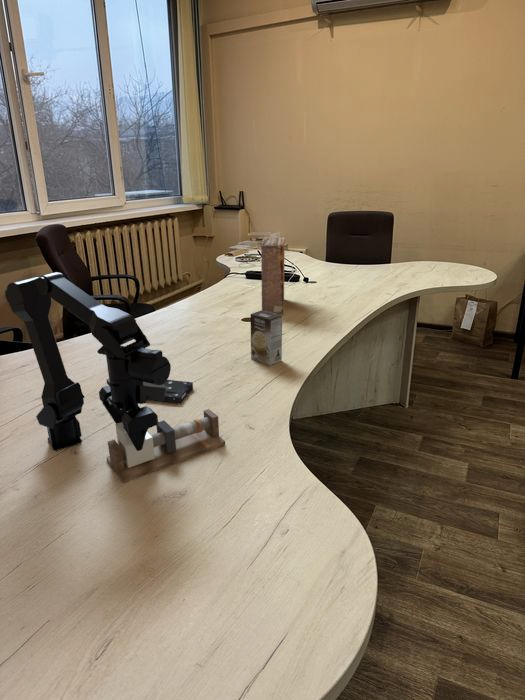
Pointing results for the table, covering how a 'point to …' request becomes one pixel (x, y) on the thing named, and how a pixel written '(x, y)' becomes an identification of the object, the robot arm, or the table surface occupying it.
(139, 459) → the sleeve
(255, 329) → the coffee box
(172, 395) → the disk drive
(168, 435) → the dark square collar
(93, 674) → the table surface
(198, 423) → the pipe rig
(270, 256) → the book
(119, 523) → the table surface
